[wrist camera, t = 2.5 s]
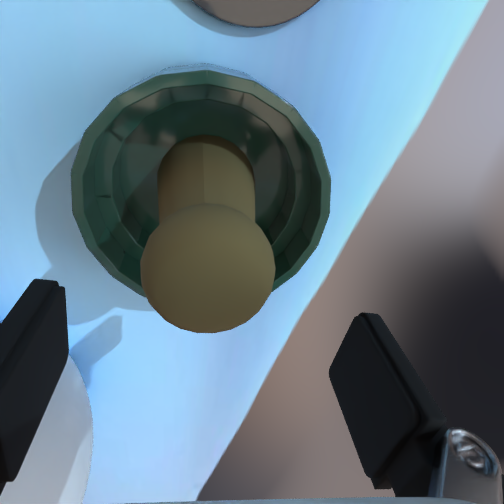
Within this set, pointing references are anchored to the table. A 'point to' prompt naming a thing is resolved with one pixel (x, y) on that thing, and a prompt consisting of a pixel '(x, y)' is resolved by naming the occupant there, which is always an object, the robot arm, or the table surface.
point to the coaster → (255, 11)
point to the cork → (207, 239)
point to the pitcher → (58, 448)
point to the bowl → (188, 125)
